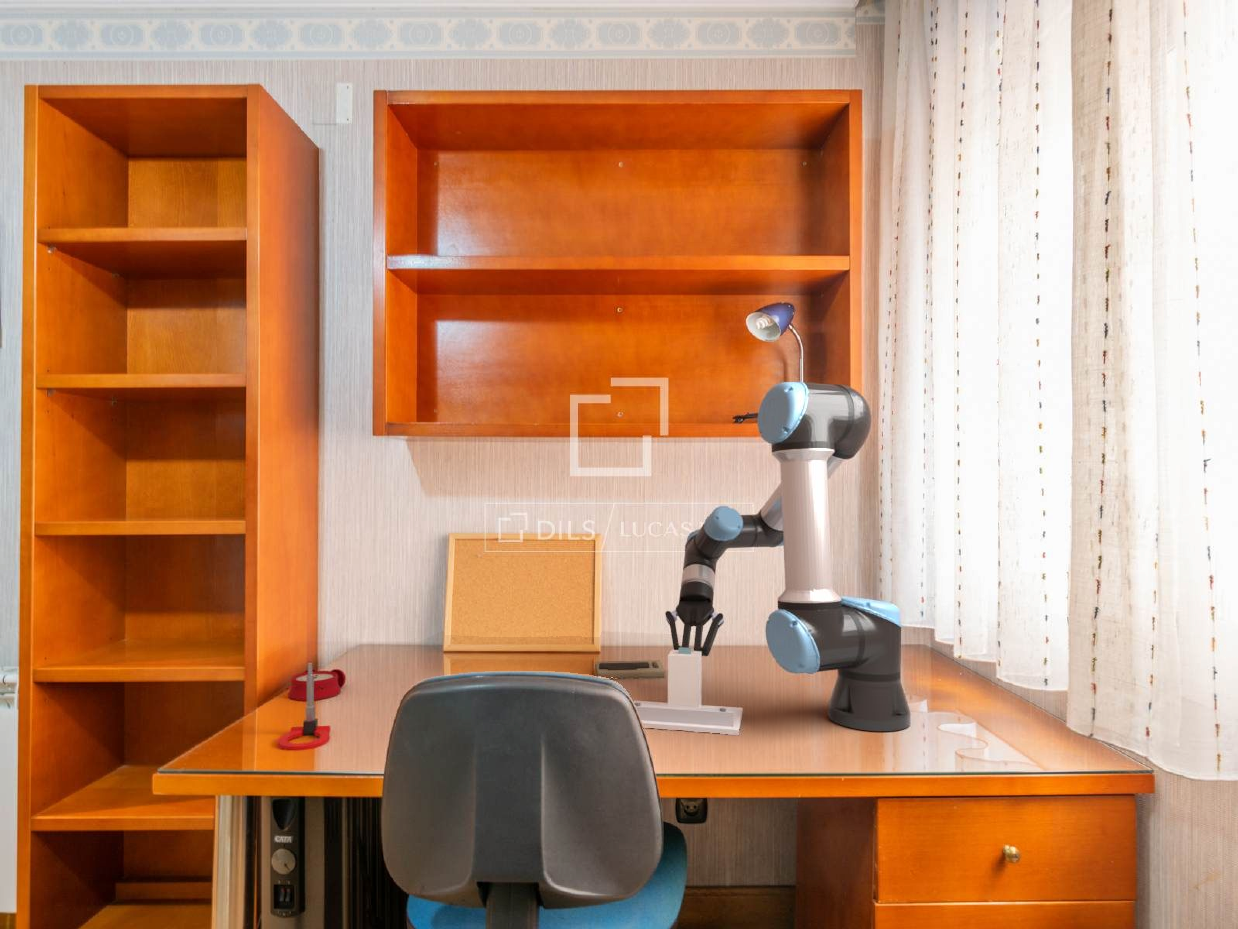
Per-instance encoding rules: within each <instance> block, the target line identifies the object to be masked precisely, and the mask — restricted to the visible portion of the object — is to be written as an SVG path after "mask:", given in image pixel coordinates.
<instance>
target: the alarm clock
mask: <svg viewBox="0 0 1238 929" xmlns="http://www.w3.org/2000/svg"><path fill="white" fill-rule="evenodd" d="M312 674H313V675H314V701H315V700H316V701H317V700H324V699H329V698H332V697H336V696H337V695H340V694H341V688H343V687H344V686H345V683H346V679H347V678H346V674H345V672H344V670H342V669H339V668H335V669H331V670H317V669H313V668H312ZM307 675H308V669H307V670H305V671H303V672H302V673H298V674H294V675H293V676H292V677H291V680H290V683H291V686H289V687H288V686H287V687H286V688H285V689H286V690H287V691H289V692H288V693H287V697H288V698H289V699H292V700H296V701H302V702H306V703H307Z"/></svg>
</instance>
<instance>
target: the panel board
mask: <svg viewBox="0 0 1238 929" xmlns="http://www.w3.org/2000/svg"><path fill="white" fill-rule="evenodd" d="M633 701H634V704H635V705H636V707H637V711H638V712H639V715H640V719H641V721H642V722H643V726H644V729H645V726H647V727H654V728H661V729H678V730H688V731H695V732H694V733H698V732H710V733H709V734H712V733H720V734H719V735H725V734H728V735H729V736H739V733H740V730H741V729H740V728H741V723H742V718H743V711H744V708H743V707H737V706H736V707H735V706H720V705H719V706H718V705H709V704H708V705H706V704H705V705H703V704H701V708H697V707H682V706H668V702H661V701H659V702H658V701H644V700H643V701H642V700H633ZM739 729H740V730H739Z"/></svg>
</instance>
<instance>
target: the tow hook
mask: <svg viewBox="0 0 1238 929" xmlns="http://www.w3.org/2000/svg"><path fill="white" fill-rule="evenodd" d="M312 669H313V663H312V662H308V663H307V670H308V675H307V702H306V706H305V719H304V720H303V722H302V723H303V725H302V726H291V727H290V732H287V733H285V734H283V735H281V736H280V737H279V738H278V739H277V747H278V748H279V749H281V750H284V751H285V750H286V751H305V750H312V749H315V748H319V747H321V746H324V745H325V744H327V743H328V742H329V741H330V738H331V734H330V733H331V725H319V724H318V723H319V721H318V720H319V719H318V718H316V705H315V700H314V675H313V674H312ZM303 735H304V736H313V735H314V736H315V737H318V738H316V739H315V740H313V741H312V740H311V741H309V742H300V743H297V742H296V743H295V742H294V743H293V742H289V741H291V740H293V739H296V738H299V737H300V738H301V737H302V736H303Z"/></svg>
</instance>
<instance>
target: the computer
mask: <svg viewBox="0 0 1238 929" xmlns="http://www.w3.org/2000/svg"><path fill="white" fill-rule="evenodd" d="M594 668H595V669H594V672H595V671H596V673H595V675H597V676H601V677H606V678H611V677H613V678H617V679H616V680H627V679H626V678H633V679H632V680H635V679H638V680H640V679H639V678H642V680H643V679H644V678H645V679H665V677H666V670H665V667H664V665H663V663H662V661H661V660H660V659H650V660H647V659H646V660H645V659H644V660H610V661H609V660H606V661H605V660H603V661H595V665H594ZM597 676H596V677H597ZM613 678H611V679H610V680H614V679H613ZM621 678H623V679H621Z"/></svg>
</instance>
